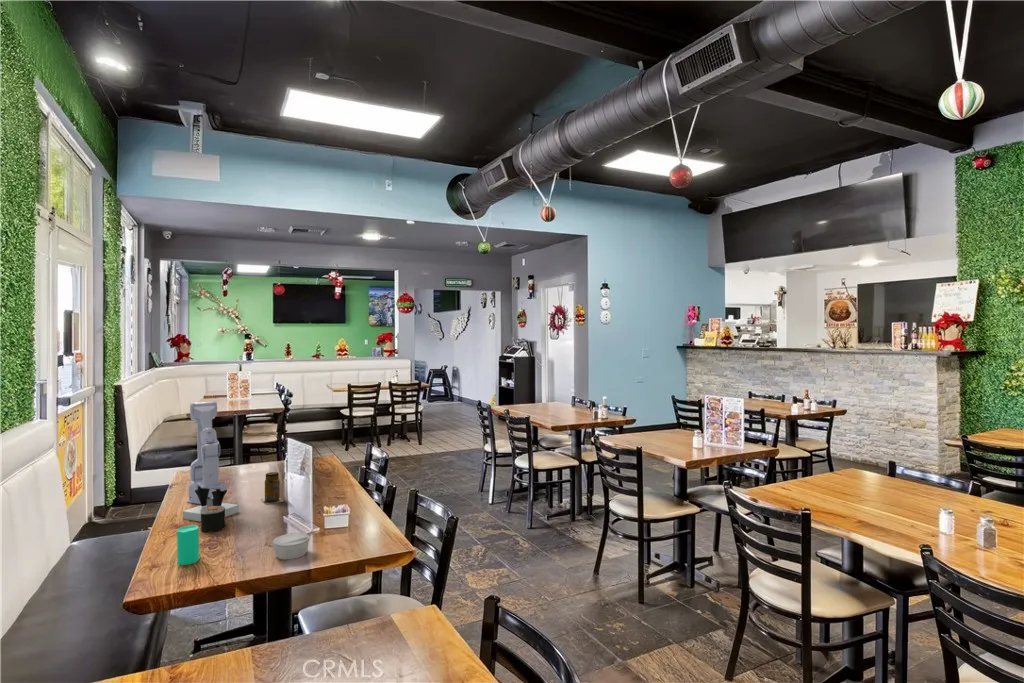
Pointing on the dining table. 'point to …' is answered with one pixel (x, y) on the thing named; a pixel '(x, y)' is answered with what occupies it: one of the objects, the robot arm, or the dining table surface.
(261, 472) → the dining table surface
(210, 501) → the peg
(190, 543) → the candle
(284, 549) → the ramekin
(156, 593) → the dining table surface
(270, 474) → the condiment
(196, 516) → the socket
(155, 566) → the dining table surface
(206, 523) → the sushi
